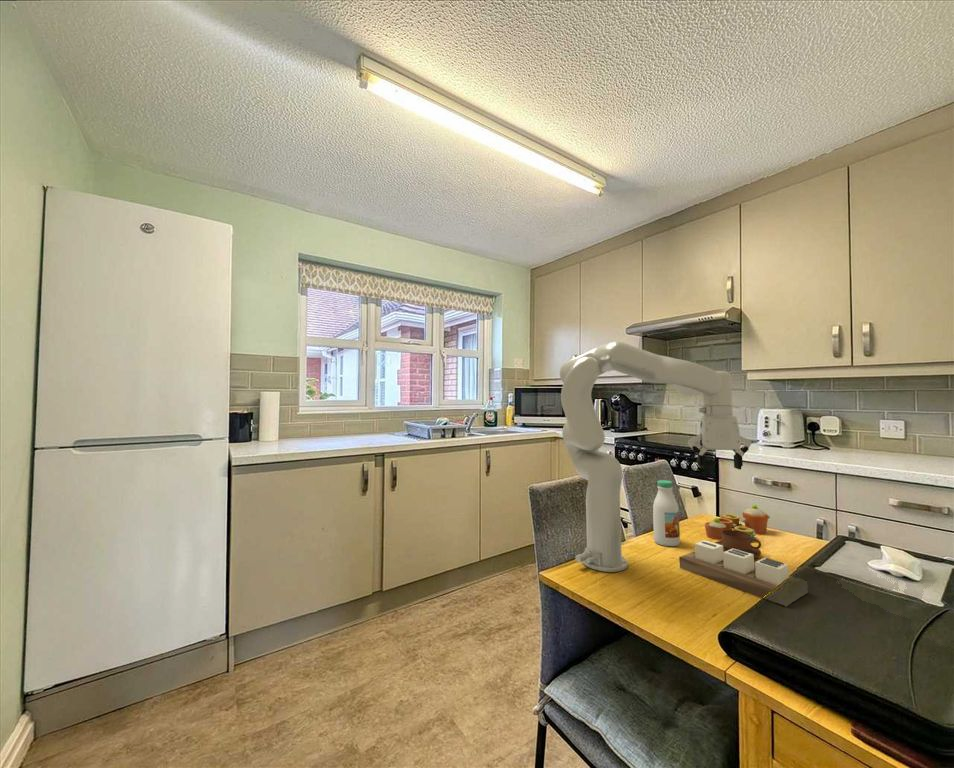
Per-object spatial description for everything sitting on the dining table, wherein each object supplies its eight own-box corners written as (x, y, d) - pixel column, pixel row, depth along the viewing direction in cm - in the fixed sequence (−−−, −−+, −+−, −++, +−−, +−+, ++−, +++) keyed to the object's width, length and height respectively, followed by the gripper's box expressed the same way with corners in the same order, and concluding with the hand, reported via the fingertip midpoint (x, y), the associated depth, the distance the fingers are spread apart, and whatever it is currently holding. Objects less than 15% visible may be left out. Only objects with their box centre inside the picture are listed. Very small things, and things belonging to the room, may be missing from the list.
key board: (786, 607, 89) (785, 593, 89) (679, 567, 110) (679, 556, 110) (808, 593, 95) (807, 580, 95) (703, 558, 116) (703, 548, 116)
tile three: (779, 586, 93) (779, 568, 93) (755, 578, 97) (755, 560, 97) (789, 581, 95) (788, 563, 96) (765, 573, 100) (764, 556, 100)
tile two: (744, 574, 99) (744, 557, 99) (723, 567, 103) (723, 551, 104) (754, 570, 102) (753, 553, 102) (733, 563, 106) (732, 547, 106)
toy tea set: (723, 521, 152) (722, 496, 152) (773, 531, 140) (771, 503, 141) (697, 537, 135) (696, 508, 135) (750, 550, 123) (749, 518, 124)
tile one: (713, 564, 106) (713, 548, 106) (695, 558, 110) (694, 542, 110) (723, 560, 108) (723, 544, 108) (705, 554, 112) (704, 539, 113)
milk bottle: (655, 545, 127) (653, 483, 128) (652, 537, 134) (650, 478, 135) (682, 548, 125) (680, 484, 125) (677, 539, 132) (675, 479, 133)
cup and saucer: (746, 547, 125) (745, 527, 125) (770, 563, 113) (769, 541, 113) (706, 546, 126) (705, 527, 126) (726, 561, 114) (725, 540, 114)
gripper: (691, 412, 118) (693, 470, 117) (755, 411, 115) (758, 471, 114) (683, 411, 125) (685, 465, 125) (743, 411, 122) (745, 466, 121)
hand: (720, 468), depth 119 cm, fingers open, 9 cm apart
